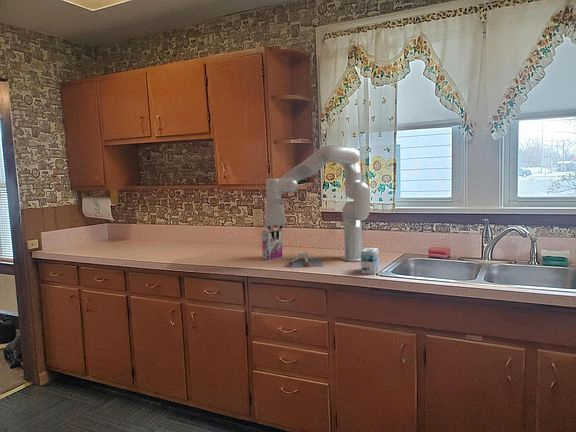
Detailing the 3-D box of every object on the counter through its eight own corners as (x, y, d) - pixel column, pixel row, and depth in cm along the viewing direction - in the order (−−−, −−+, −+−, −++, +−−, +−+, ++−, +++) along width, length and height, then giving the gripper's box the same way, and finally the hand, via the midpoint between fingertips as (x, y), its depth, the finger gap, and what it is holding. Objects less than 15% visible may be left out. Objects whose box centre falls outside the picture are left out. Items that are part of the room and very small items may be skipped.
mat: (319, 258, 252) (319, 257, 252) (323, 267, 229) (323, 266, 229) (287, 259, 251) (287, 258, 251) (288, 269, 228) (288, 267, 228)
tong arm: (299, 260, 245) (299, 256, 245) (301, 260, 244) (301, 256, 244) (286, 266, 231) (286, 262, 231) (289, 266, 231) (288, 262, 230)
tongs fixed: (301, 259, 248) (301, 255, 247) (306, 259, 248) (306, 255, 248) (303, 267, 229) (303, 263, 228) (308, 267, 229) (308, 263, 228)
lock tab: (298, 257, 252) (298, 252, 252) (307, 257, 253) (307, 251, 252) (299, 259, 247) (299, 253, 247) (308, 259, 248) (307, 253, 247)
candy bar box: (268, 260, 250) (266, 231, 249) (262, 259, 254) (261, 230, 252) (283, 257, 258) (282, 229, 256) (277, 256, 262) (276, 228, 260)
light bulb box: (375, 274, 211) (374, 251, 210) (360, 273, 214) (360, 251, 213) (379, 269, 221) (379, 247, 220) (365, 268, 224) (365, 247, 223)
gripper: (289, 201, 232) (290, 237, 234) (259, 202, 232) (260, 238, 234) (289, 203, 225) (290, 239, 227) (258, 204, 224) (260, 240, 226)
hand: (275, 238), depth 230 cm, fingers closed
